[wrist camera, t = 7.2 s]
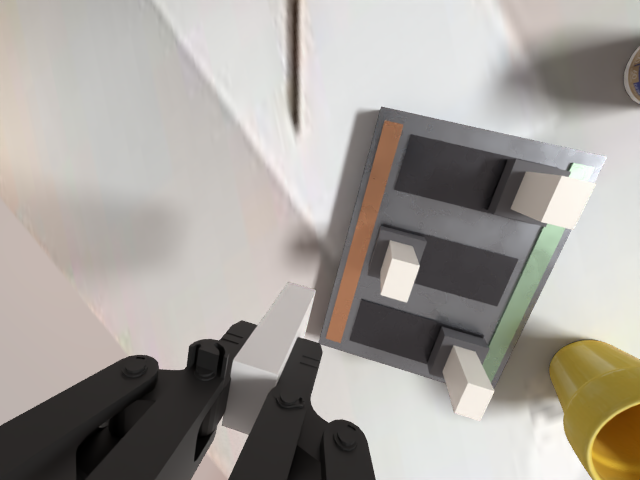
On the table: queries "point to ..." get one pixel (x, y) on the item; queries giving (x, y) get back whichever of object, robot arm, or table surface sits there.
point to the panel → (445, 243)
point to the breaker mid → (396, 262)
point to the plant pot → (600, 407)
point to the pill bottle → (633, 76)
